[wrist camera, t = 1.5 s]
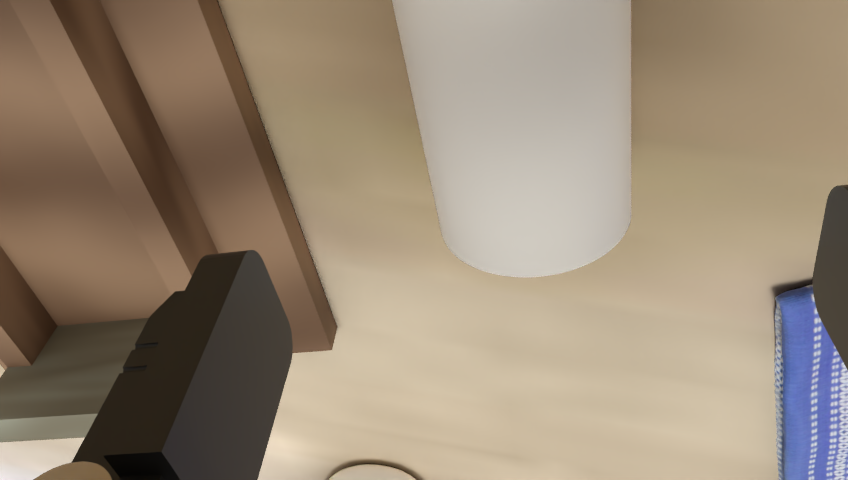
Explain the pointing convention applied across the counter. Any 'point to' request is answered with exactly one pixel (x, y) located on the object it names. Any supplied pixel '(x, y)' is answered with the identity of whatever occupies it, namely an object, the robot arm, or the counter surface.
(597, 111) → the roll
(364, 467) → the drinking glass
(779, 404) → the dish towel
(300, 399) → the counter surface
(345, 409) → the counter surface
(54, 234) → the cradle
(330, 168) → the counter surface
